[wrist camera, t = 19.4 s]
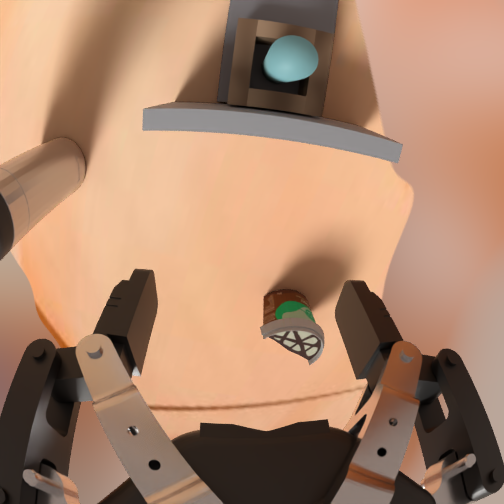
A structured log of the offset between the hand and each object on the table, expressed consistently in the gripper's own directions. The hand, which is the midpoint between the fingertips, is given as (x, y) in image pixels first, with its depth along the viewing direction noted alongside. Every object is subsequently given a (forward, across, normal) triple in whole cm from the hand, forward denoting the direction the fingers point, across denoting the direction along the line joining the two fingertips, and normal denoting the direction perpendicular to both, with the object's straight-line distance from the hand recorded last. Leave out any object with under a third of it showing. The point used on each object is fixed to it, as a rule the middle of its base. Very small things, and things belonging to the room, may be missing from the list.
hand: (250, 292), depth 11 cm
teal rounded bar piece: (+26, -3, -11) cm, 29 cm away
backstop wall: (+27, -3, -5) cm, 28 cm away
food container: (+28, -12, +25) cm, 39 cm away
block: (+26, -3, -11) cm, 29 cm away
